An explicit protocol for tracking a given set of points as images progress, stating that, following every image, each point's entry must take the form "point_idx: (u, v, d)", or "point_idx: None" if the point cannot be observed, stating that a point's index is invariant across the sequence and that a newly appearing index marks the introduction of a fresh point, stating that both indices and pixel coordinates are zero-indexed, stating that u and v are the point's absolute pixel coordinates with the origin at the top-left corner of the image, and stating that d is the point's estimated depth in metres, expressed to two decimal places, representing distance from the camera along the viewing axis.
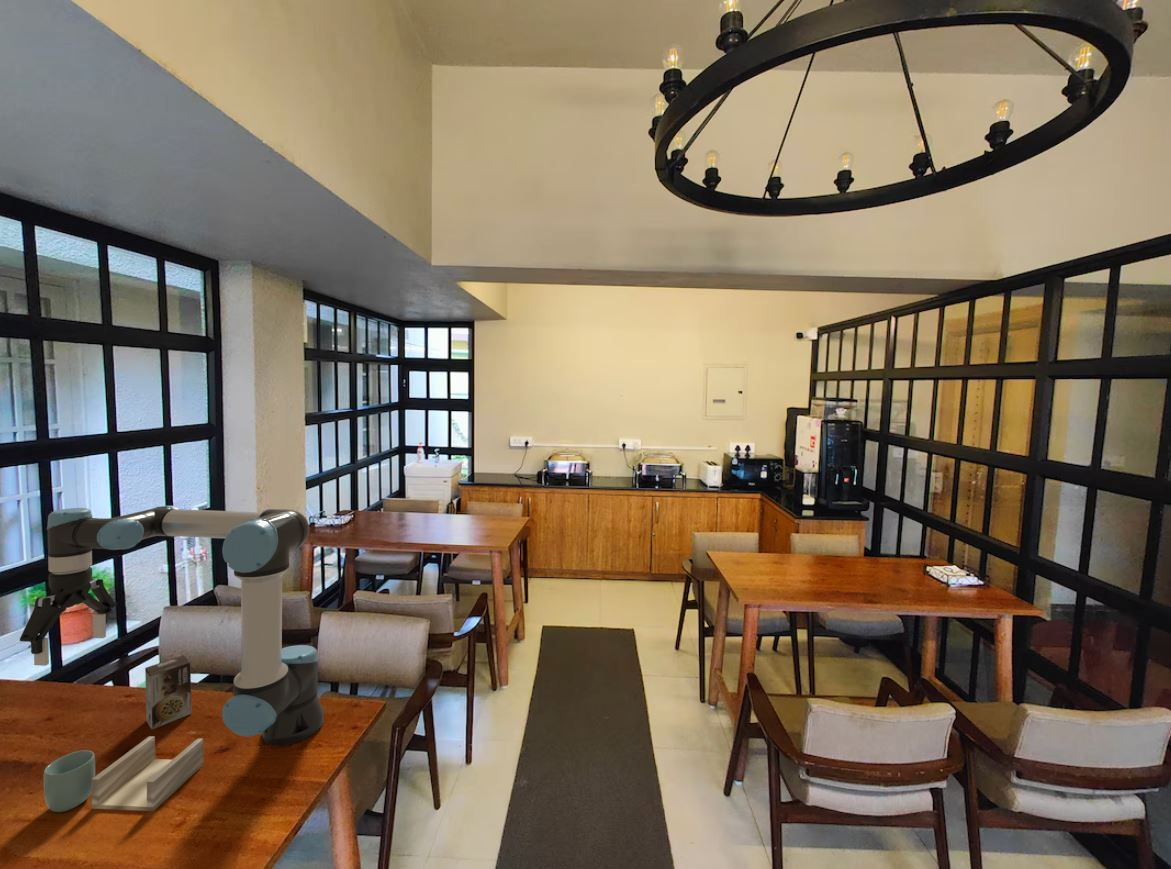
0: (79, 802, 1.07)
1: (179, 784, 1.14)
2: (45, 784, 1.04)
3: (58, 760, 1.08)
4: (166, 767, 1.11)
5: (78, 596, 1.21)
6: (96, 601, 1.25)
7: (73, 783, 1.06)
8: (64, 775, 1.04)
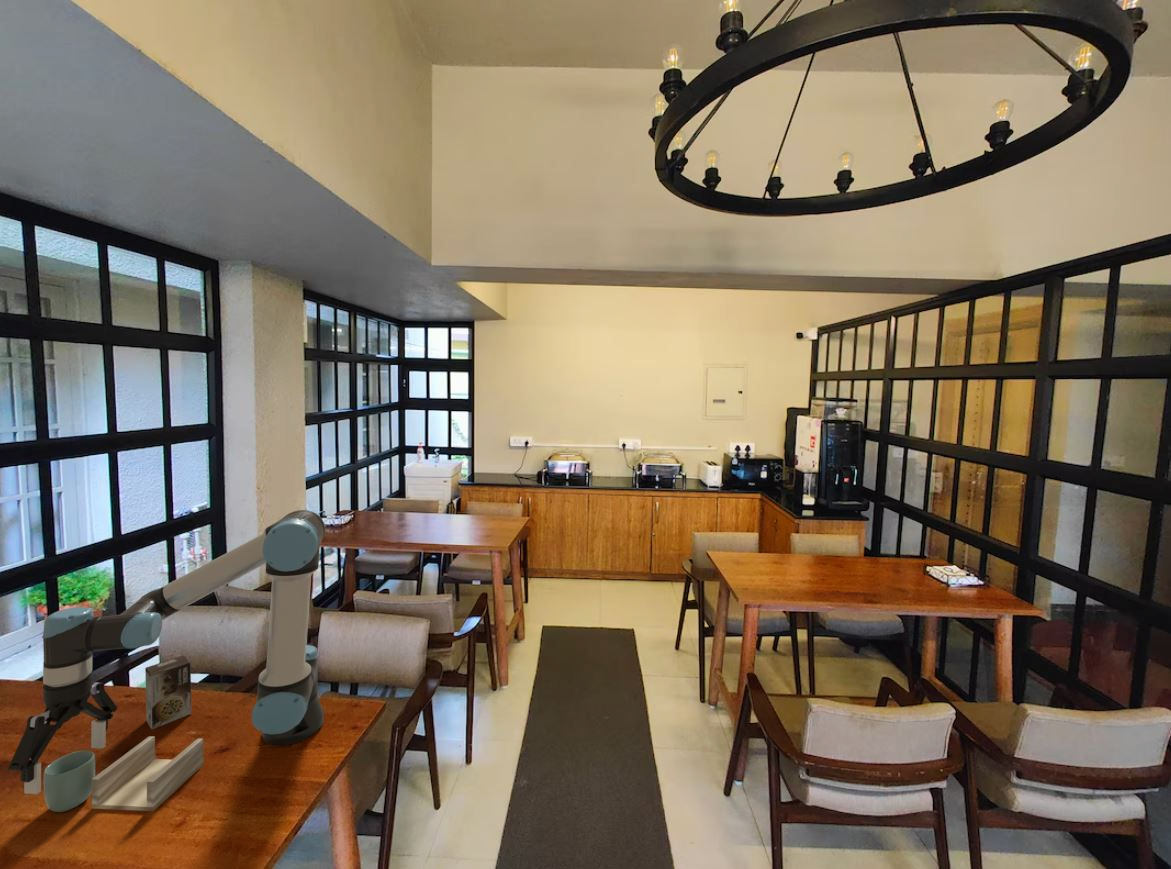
0: (79, 802, 1.07)
1: (179, 784, 1.14)
2: (45, 784, 1.04)
3: (58, 760, 1.08)
4: (166, 767, 1.11)
5: (76, 707, 1.08)
6: (95, 708, 1.12)
7: (73, 783, 1.06)
8: (64, 775, 1.04)
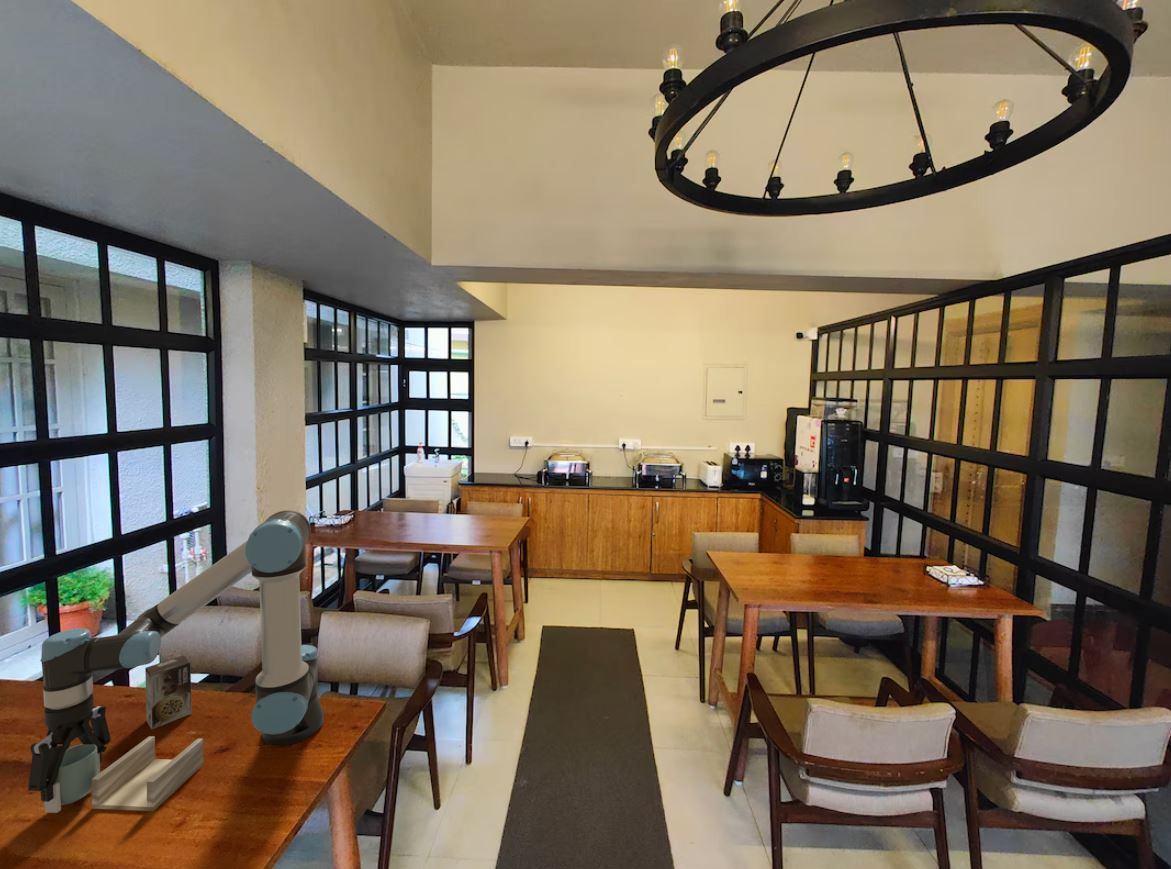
0: (83, 794, 1.07)
1: (179, 784, 1.14)
2: None
3: None
4: (166, 767, 1.11)
5: (77, 728, 1.08)
6: (93, 736, 1.11)
7: (76, 776, 1.06)
8: (67, 767, 1.04)
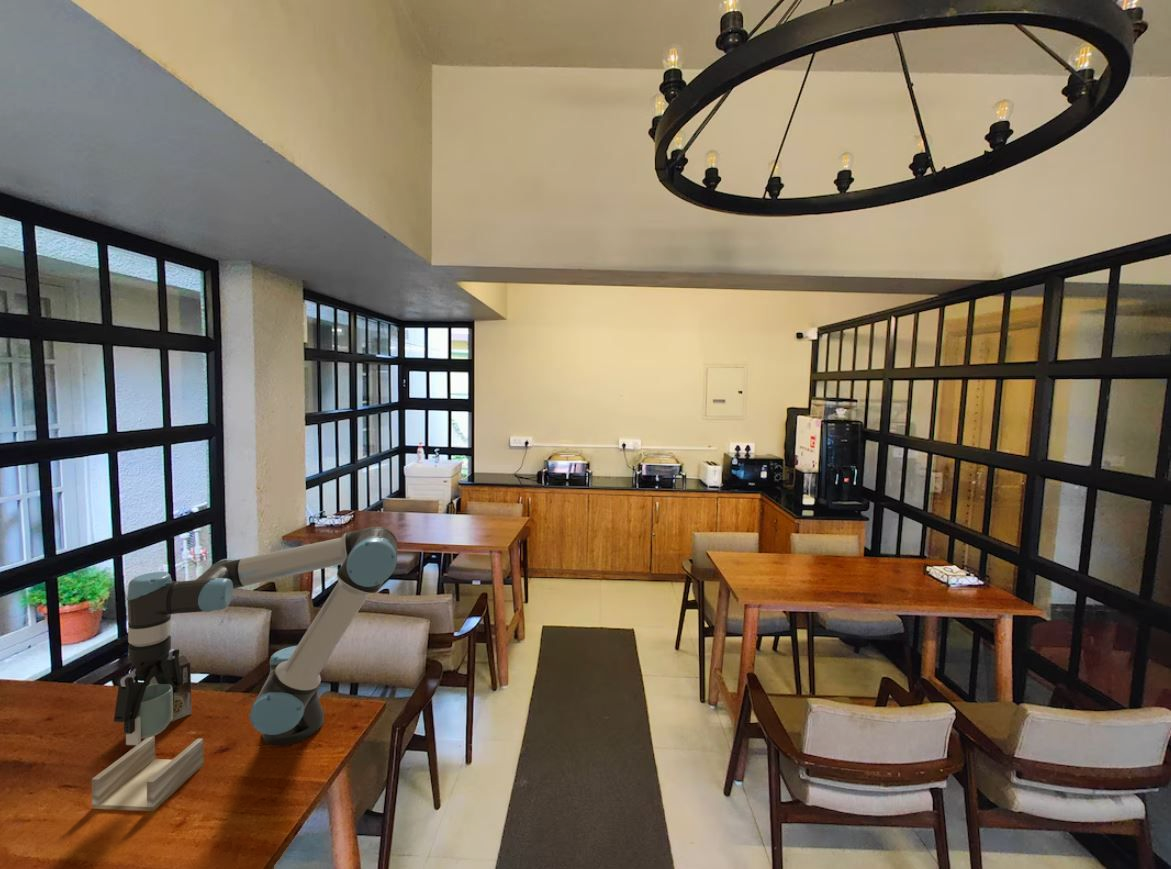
0: (160, 730, 1.12)
1: (179, 784, 1.14)
2: None
3: None
4: (166, 767, 1.11)
5: (156, 667, 1.13)
6: (168, 676, 1.16)
7: (155, 711, 1.11)
8: (148, 702, 1.10)
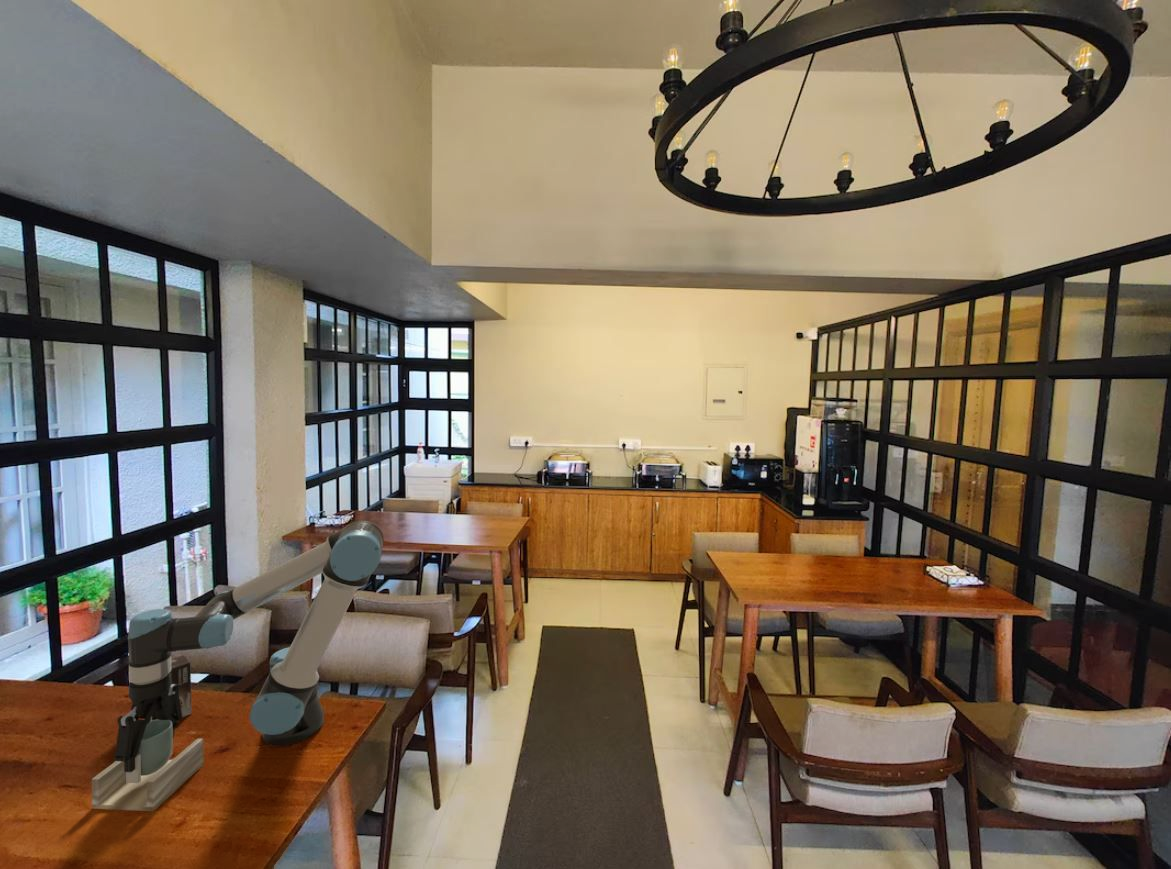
0: (160, 767, 1.13)
1: (179, 784, 1.14)
2: None
3: None
4: (166, 767, 1.11)
5: (156, 704, 1.13)
6: (168, 712, 1.17)
7: (155, 748, 1.11)
8: (148, 740, 1.10)
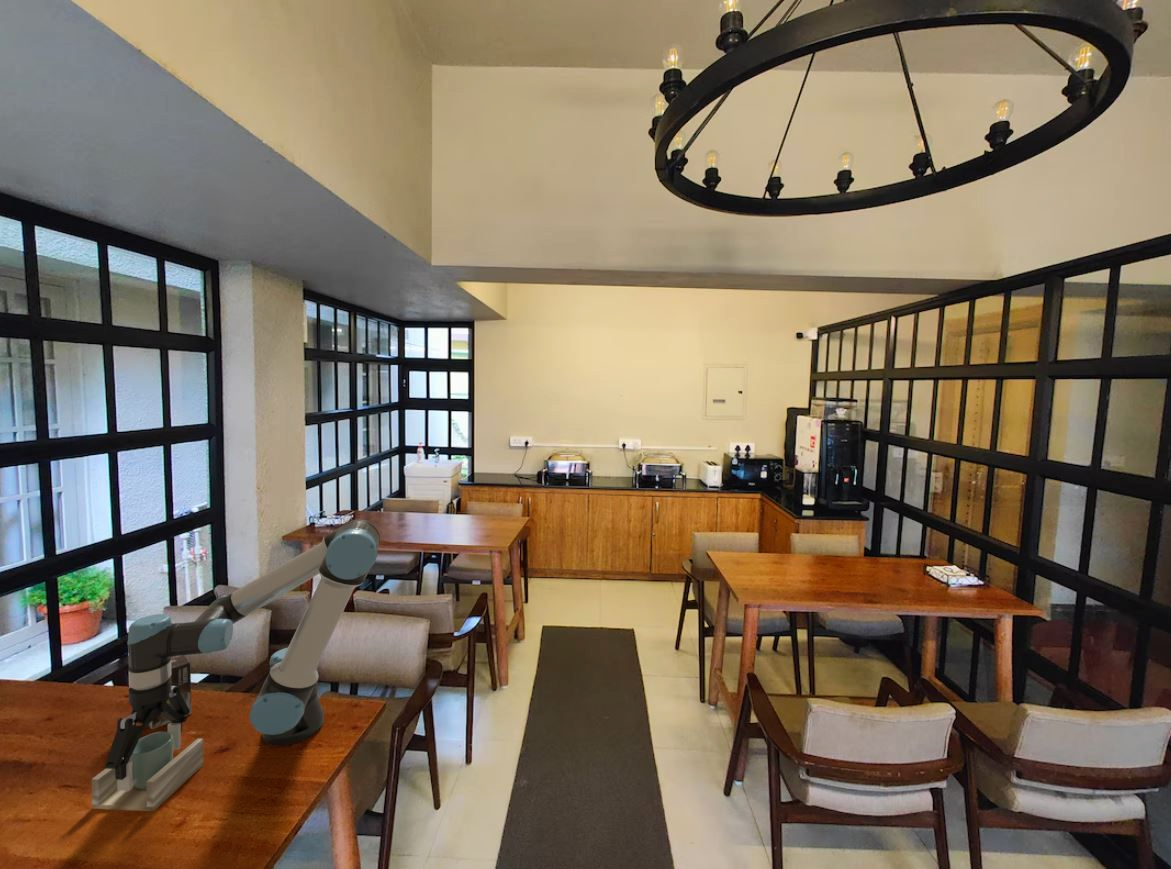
0: None
1: (179, 784, 1.14)
2: None
3: (140, 740, 1.14)
4: (166, 767, 1.11)
5: (157, 709, 1.14)
6: (173, 711, 1.18)
7: (156, 762, 1.11)
8: (148, 753, 1.10)
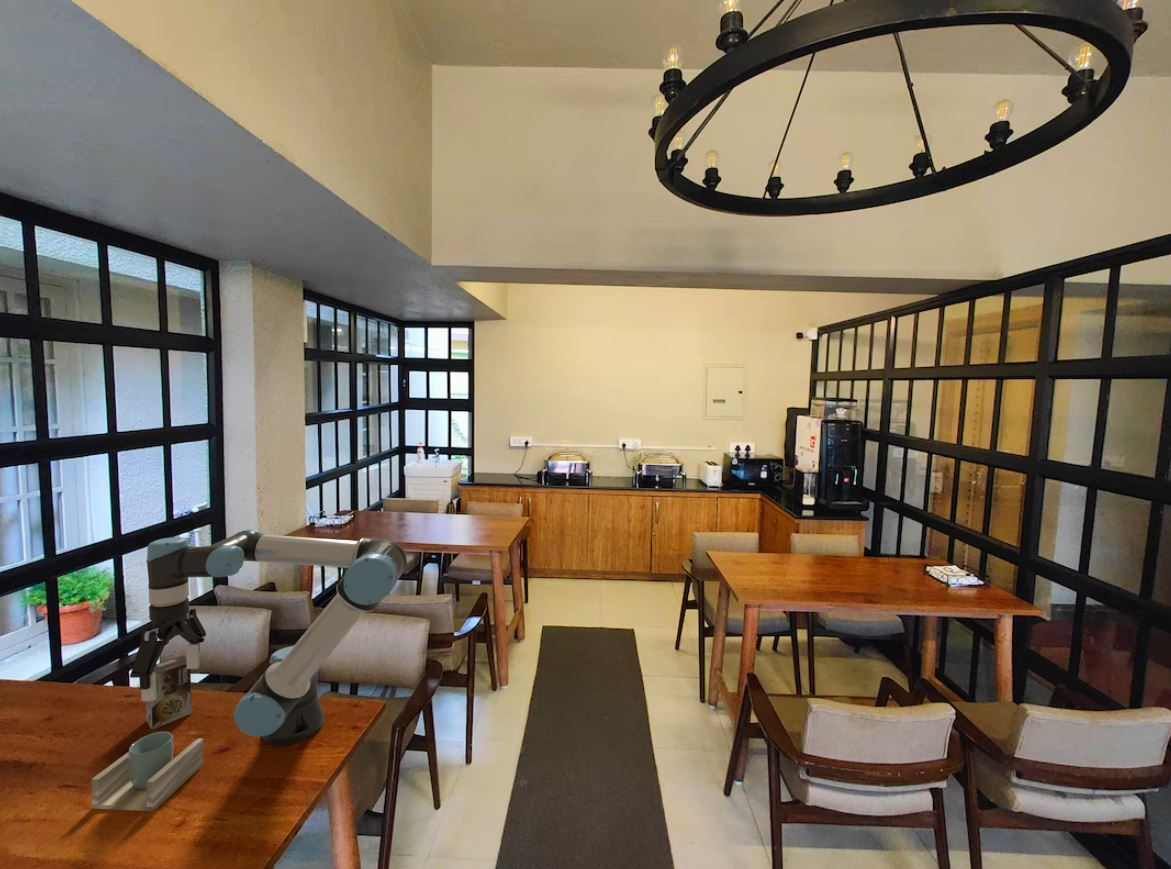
0: None
1: (179, 784, 1.14)
2: (130, 762, 1.10)
3: (140, 740, 1.14)
4: (166, 767, 1.11)
5: (177, 627, 1.18)
6: (191, 631, 1.23)
7: (156, 762, 1.11)
8: (148, 754, 1.10)
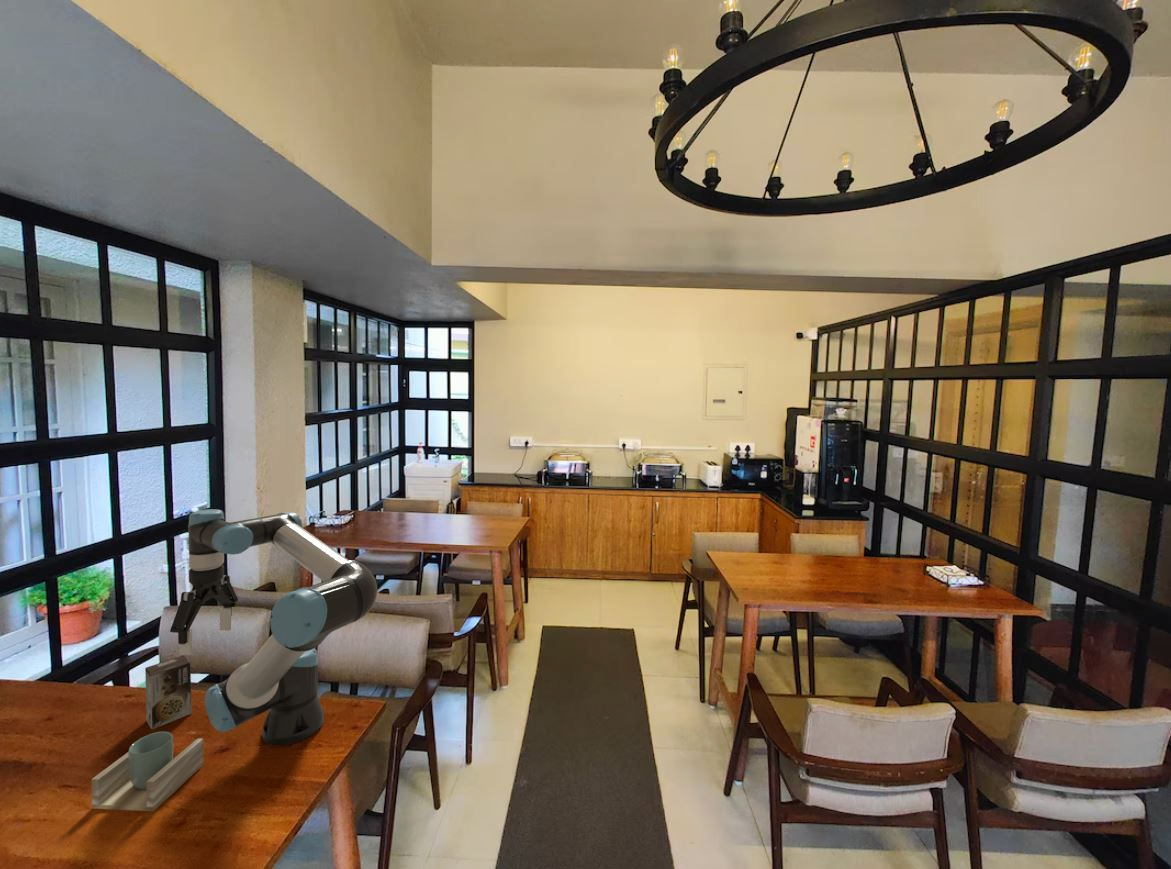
0: None
1: (179, 784, 1.14)
2: (130, 762, 1.10)
3: (140, 740, 1.14)
4: (166, 767, 1.11)
5: (212, 591, 1.31)
6: (224, 596, 1.35)
7: (156, 762, 1.11)
8: (148, 754, 1.10)
